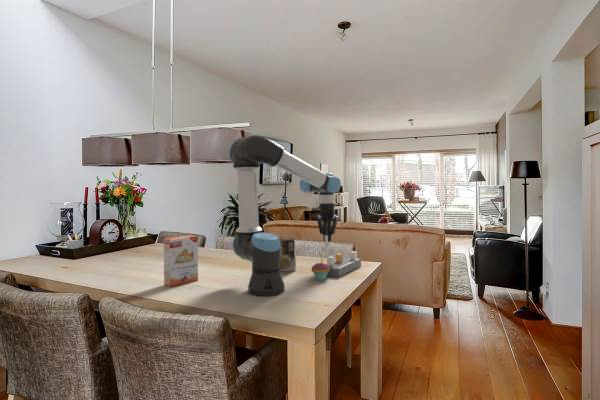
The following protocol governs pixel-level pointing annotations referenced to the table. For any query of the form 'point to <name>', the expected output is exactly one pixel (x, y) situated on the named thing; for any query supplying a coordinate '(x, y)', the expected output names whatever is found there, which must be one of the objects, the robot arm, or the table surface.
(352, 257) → the switch
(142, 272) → the table surface
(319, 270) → the cupcake
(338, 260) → the switch
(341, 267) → the power bar
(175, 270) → the cracker box
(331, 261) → the switch
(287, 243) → the coffee box
